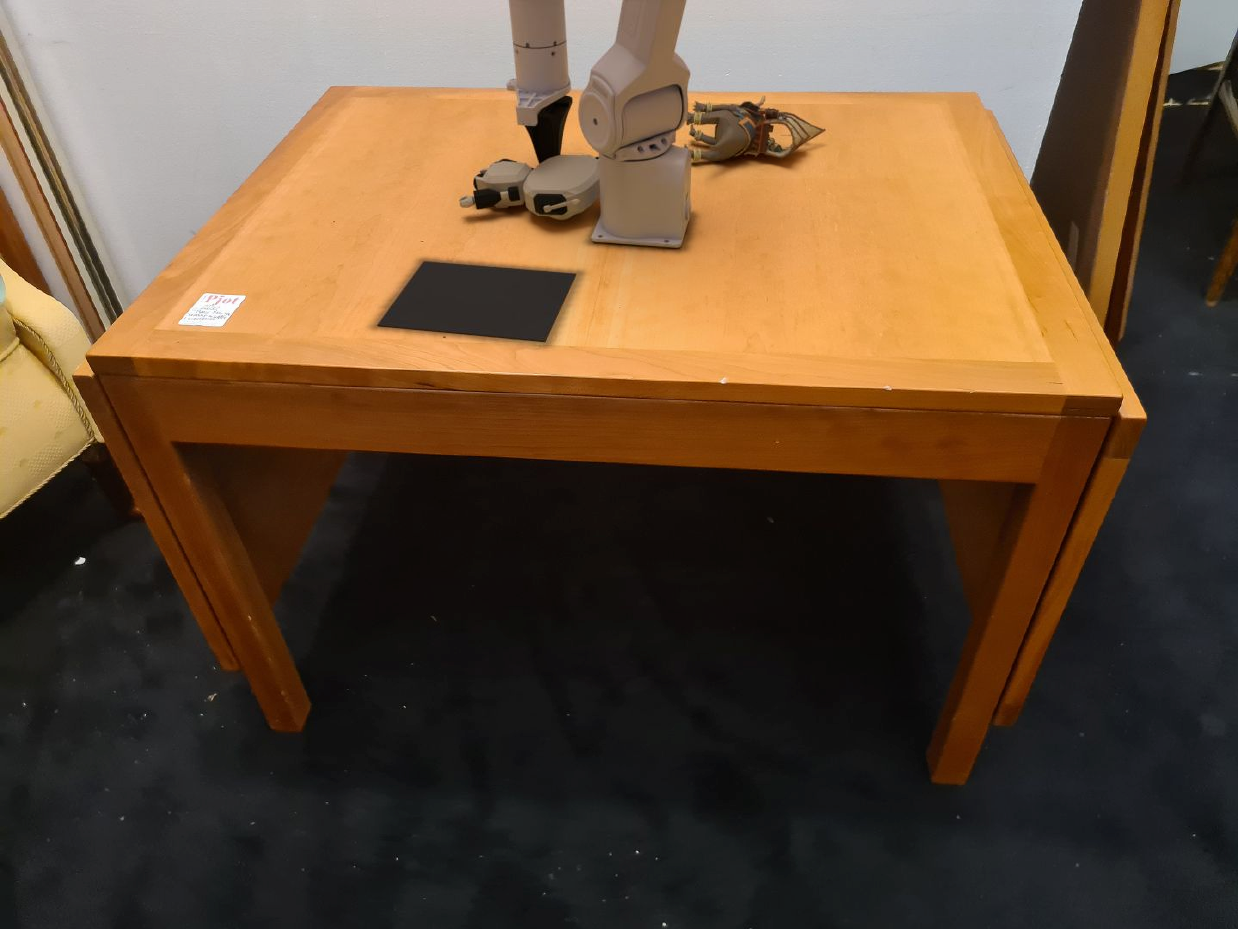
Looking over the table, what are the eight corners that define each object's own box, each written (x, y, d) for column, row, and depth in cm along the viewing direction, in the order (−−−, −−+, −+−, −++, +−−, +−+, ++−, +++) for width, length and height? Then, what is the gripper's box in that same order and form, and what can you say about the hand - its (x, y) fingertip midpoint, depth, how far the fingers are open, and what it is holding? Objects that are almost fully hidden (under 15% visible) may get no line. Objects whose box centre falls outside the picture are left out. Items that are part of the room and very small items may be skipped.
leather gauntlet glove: (696, 77, 112) (828, 83, 110) (693, 125, 116) (821, 132, 114) (680, 126, 97) (833, 134, 95) (677, 179, 101) (825, 188, 99)
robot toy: (458, 231, 95) (588, 235, 91) (448, 191, 92) (583, 194, 88) (497, 183, 104) (618, 185, 100) (490, 146, 101) (614, 147, 97)
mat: (576, 274, 86) (576, 273, 86) (545, 341, 77) (545, 340, 77) (423, 261, 89) (423, 260, 89) (377, 325, 80) (377, 324, 80)
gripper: (522, 18, 98) (532, 138, 107) (482, 60, 87) (497, 189, 97) (583, 20, 97) (588, 141, 106) (550, 63, 86) (559, 193, 95)
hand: (549, 164), depth 101 cm, fingers closed
